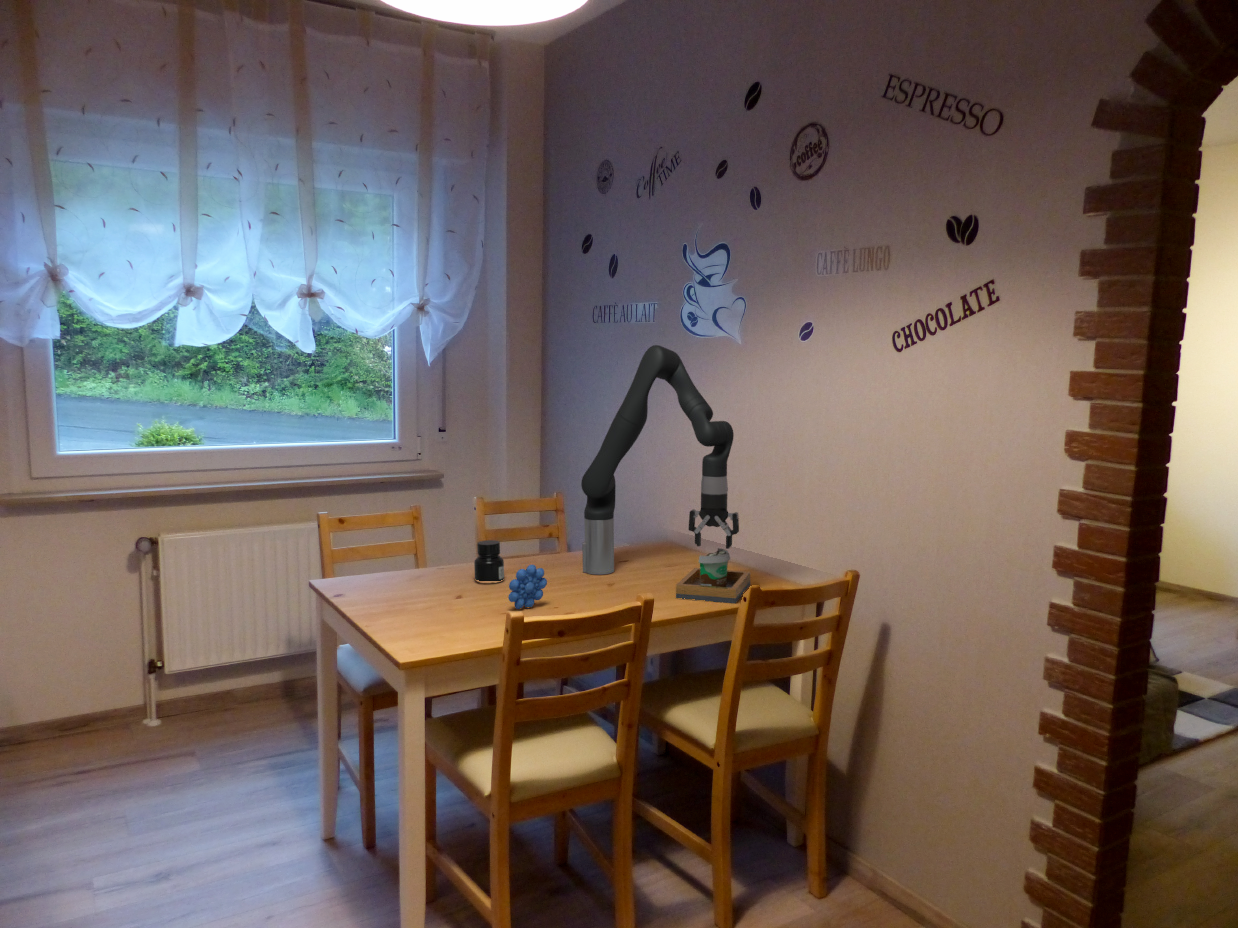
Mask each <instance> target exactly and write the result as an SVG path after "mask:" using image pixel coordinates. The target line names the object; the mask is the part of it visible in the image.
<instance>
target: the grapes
mask: <svg viewBox="0 0 1238 928" xmlns="http://www.w3.org/2000/svg"><path fill="white" fill-rule="evenodd" d="M544 575H545V570H544V568H542V567H539V568H537V566H536V565H535V564H529V565H528V566H527V567H526V569H524V568H520V569H518V570H517V572H516V573H515V579H511V581H510V582H509V584H508V588H509V590H510V593H509V594H508V596H507V597H508V601H509V602H510V603H514V608H515V609H516V610H520V608H521V609H522V608H523V607H524V608H526V607H531V608H532V607H533V606H534V605H535V601H540V600H542V598H543V596H544V591H543V589H545V588H546V586H547V585H548V580H547V578H545V577H544Z"/></svg>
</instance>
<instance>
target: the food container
mask: <svg viewBox="0 0 1238 928" xmlns="http://www.w3.org/2000/svg"><path fill="white" fill-rule="evenodd" d="M730 560H731V557H730V552H729V550H728V549H726V548H725V549H724V548H719V547H718V548H717V551H715V552H711V553H708V554H707V555H699V557H698V564H699V568H700V575H701V585H703V586H716V587H726V580H727V570H728V563H729V561H730Z"/></svg>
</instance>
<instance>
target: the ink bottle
mask: <svg viewBox="0 0 1238 928" xmlns="http://www.w3.org/2000/svg"><path fill="white" fill-rule="evenodd" d="M476 546H477V547H476V548H477V549H476V550H477V555H478V556H477V557H476V558H475V559H474V561H473V563H474V567H473V568H474V580H475V579H476V580H479V581H501V580H503V579H504V580H505V564H504V562H505V561H504V558H503V557H502V556H500V554H501V552H500V551H501V542H500V541H499V540H495V539H494V540H493V539H488V540H481V541H478V542H477V545H476ZM504 580H503V581H504Z"/></svg>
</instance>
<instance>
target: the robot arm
mask: <svg viewBox="0 0 1238 928" xmlns="http://www.w3.org/2000/svg"><path fill="white" fill-rule="evenodd" d="M656 379H660V380H662V381H663V380H664V381H665V382H666V383H668V384H669V385H670V387H672V389H673V390H674V391H675V392H676V396H677V400H678V404H679V406H680V408H681V410H682V412H683V413H684V415H686V417H687V419H689V421H690V422H691V426H692V428H693V431H694V435H695V437H696V440H697V442H699V444H700V445H702V446H703V447H707V448H708V447H713V449H712V451H711V453H708V454H706V455H703V457H702V460H701V461H702V463H701V474H702V475H701V480H700V482H701V483H700V485H701V486H700V510H696V509H695V508H693V509H691V510H690V511H689V514H688V515H689V517H688V529H687V530H688V531H689V532H692V533H694V544H695V545H696V547H701V545H702V533H701V531H703V529H704V527H706V526H707V527H709V528H710V527H715V528H721V530H723V532H724V533H725V534H726V536H725V550H729V549H730V548H731V547H732V546H733V536H734V535H737V534H738V533H740V526H739V525H740V522H739V521H740V520H739V519H740V518H739V512H737V511H736V512H729V511H728V492H729V491H728V490H729V487H728V460H729V456H730V452H731V450H732V445H733V443H734V436H735V434H734V429H733V427H732V425H731V424H730V423H729V421H725V420H715V421H711V420H712V419H713V416H714V410H713V408H712V407H711V405H709V403H708V402H707V401H706V399H705V398H704V397H703V395H702V394H701V393H700V391H699V390H698V389H697V387H696V385H695V383H694V381H693V380H692V378H691V377H690V375H689V373H688V371H687V369H686V367H685V365H684V363H683V361H682V359H681V356H679V354H678V353H677V352H675V351H674V350H671V349H669V348H667V347H664V346H662V345H658V344H655V345H651V346H649V347H648V348H647V350H646V351H645V352H644V354H643V356H642V358H641V360H640V362H639V365H638V367H637V369H636V372H635V375H634V377H633V379H632V381H631V384H630V387H629V389H628V390H627V393H626V395H625V396H624V399H623V401H622V402H621V405H620V406H619V408H618V410H617V412H616V414H615V416H614V418H613V420H612V422H611V424H610V425H609V428H608V430H607V432H606V435H605V436H604V438H603V441H602V444H601V446H600V449H599V450H598V451H597V452H598V453H597V454H596V455H595V457H594V459H593V460H592V462H591V463H590V465H589V466H588V468H587V470H586V471H585V473H584V474H583V476H582V479H581V484H580V485H581V491H582V492H583V493H584V495H585V496H587V497H586V505H585V508H584V513H583V514H584V518H583V519H584V525H583V526H584V541H583V542H582V548H581V549H582V573H587V574H588V575H600V576H601V575H607V574H612V573H614V572H615V528H614V527H615V523H614V522H615V519H614V517H615V516H614V514H615V508H616V478H615V472H616V470H617V468H618V466H619V465H620V463H621V461H622V460H623V458H624V457H625V456H626V455H627V454H628V452H629V450H630V449H632V447H633V446H634V444H635V442H637V439H638V438H639V436H640V435H641V433H642V431H643V429H644V427H645V424H646V423H647V419H648V407H649V405H648V404H649V403H648V402H649V400H648V399H649V394H650V391H651V388H652V387H653V385H654V383H655V381H656ZM698 516H699V517H700V519H701V520H702V521H701V522H700V523H699V525H698V526H697V527H696V519H697V518H698ZM728 518H729V519H730V521H732V528H731V527H730V525H729V524H728V522H727V521H726V520H727V519H728Z"/></svg>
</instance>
